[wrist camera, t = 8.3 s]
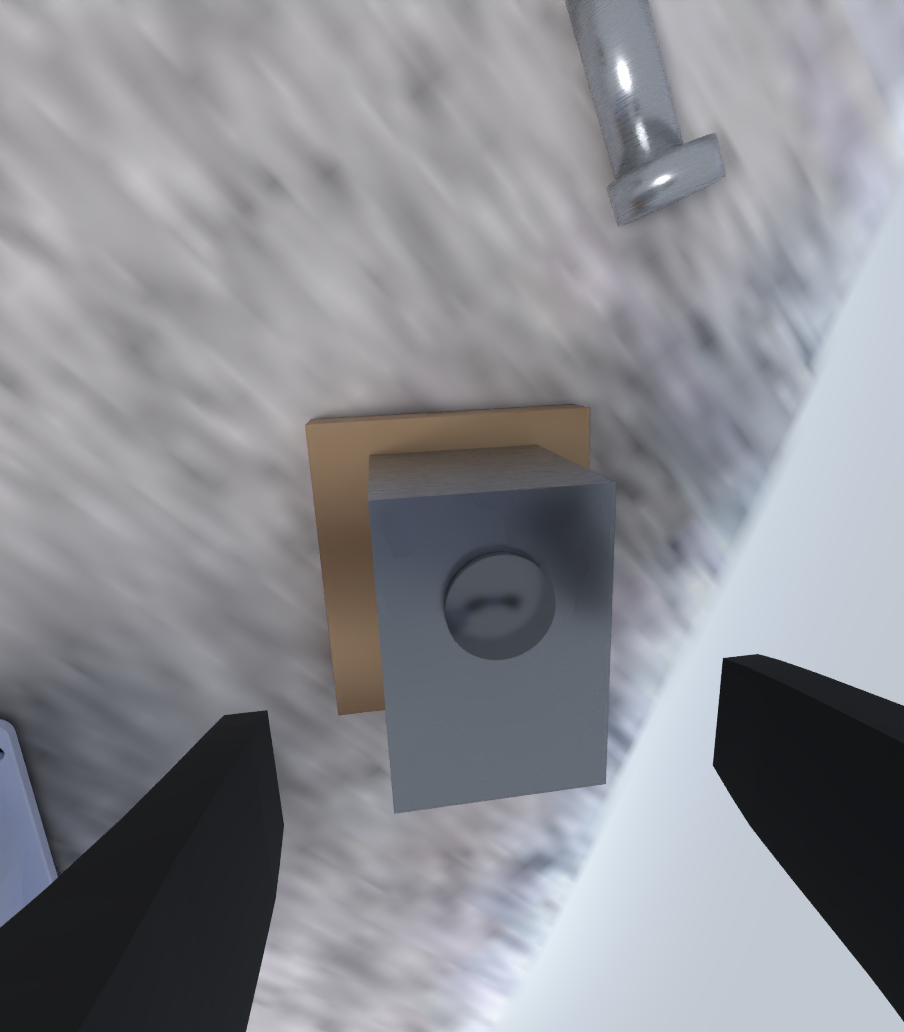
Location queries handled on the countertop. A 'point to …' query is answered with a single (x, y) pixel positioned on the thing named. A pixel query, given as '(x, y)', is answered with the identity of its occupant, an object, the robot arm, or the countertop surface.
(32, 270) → the countertop surface
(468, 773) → the block
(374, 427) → the stand
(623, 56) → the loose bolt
